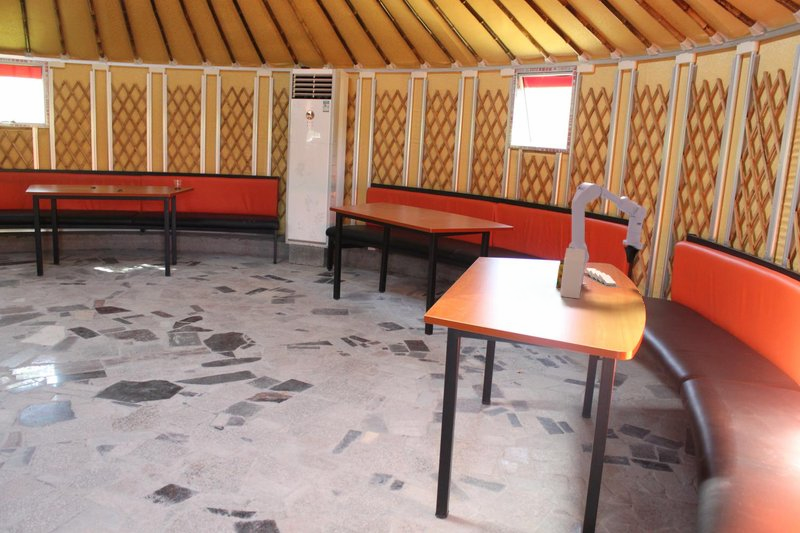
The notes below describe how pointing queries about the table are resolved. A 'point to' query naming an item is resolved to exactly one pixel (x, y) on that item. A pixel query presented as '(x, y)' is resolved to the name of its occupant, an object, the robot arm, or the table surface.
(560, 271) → the crayon box
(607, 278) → the tile
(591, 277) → the tile
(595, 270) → the tile
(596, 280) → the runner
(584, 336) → the table surface
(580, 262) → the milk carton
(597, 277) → the tile
